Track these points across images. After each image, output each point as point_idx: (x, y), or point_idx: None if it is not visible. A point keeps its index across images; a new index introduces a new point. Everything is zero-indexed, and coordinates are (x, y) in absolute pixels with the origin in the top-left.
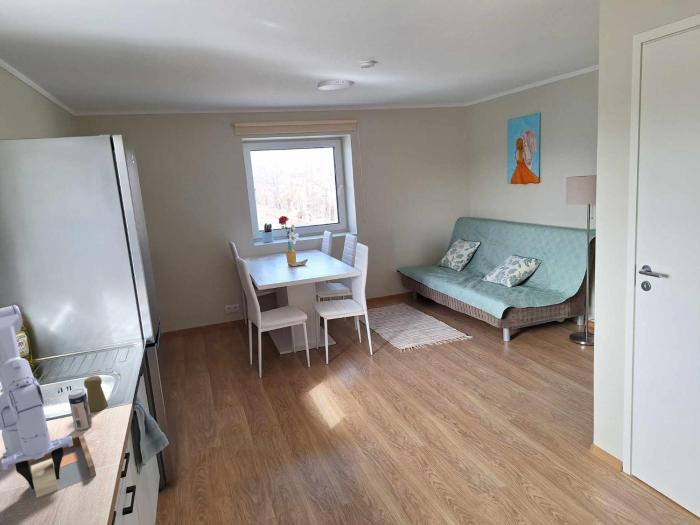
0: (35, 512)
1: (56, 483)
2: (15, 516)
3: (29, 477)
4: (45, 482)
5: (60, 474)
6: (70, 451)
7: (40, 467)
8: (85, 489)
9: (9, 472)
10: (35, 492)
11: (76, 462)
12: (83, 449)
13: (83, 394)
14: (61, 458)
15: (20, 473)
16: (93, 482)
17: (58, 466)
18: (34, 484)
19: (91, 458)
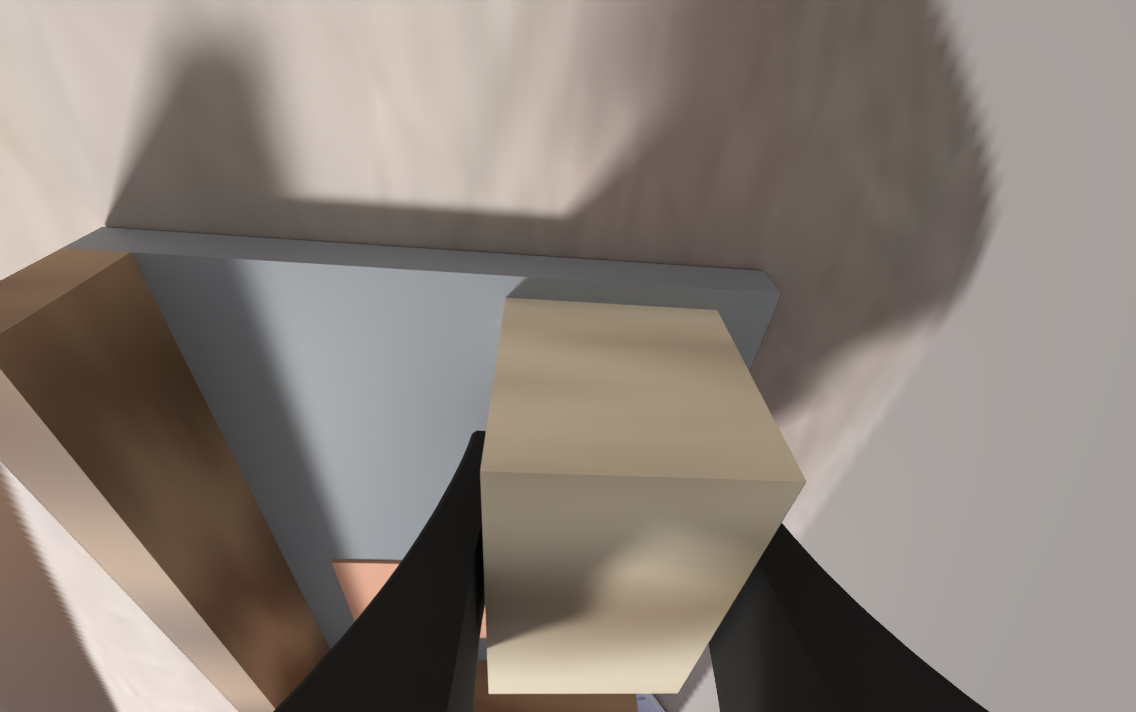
0: (802, 77)
1: (505, 342)
2: (946, 192)
3: (785, 570)
4: (628, 398)
5: None
6: None
7: (616, 645)
8: (207, 89)
9: (704, 652)
10: (737, 350)
11: (346, 552)
12: (224, 650)
13: None
14: (289, 708)
15: (972, 705)
16: (130, 178)
17: (419, 566)
18: (767, 429)
19: (41, 500)
